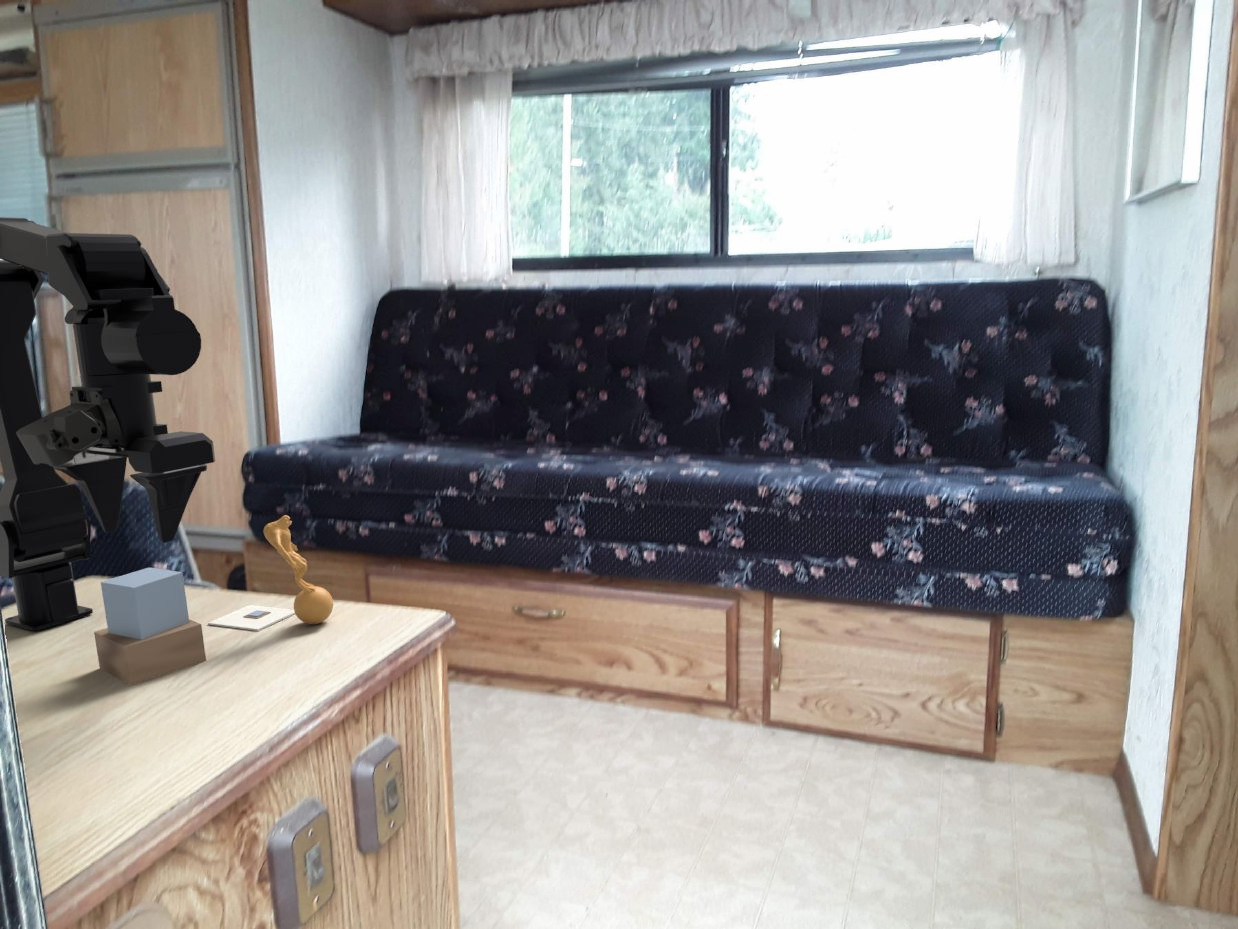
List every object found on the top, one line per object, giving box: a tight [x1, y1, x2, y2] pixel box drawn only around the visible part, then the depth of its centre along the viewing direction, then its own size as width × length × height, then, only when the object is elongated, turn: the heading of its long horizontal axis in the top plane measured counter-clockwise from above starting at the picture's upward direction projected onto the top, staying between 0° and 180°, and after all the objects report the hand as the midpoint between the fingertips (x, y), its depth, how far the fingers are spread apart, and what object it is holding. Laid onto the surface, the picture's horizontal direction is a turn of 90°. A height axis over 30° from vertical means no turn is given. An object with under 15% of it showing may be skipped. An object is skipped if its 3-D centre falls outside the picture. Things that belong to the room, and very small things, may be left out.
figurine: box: [263, 514, 334, 625], centre depth 98 cm, size 8×6×12 cm
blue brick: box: [100, 567, 190, 640], centre depth 89 cm, size 5×5×5 cm
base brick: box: [93, 618, 207, 686], centre depth 90 cm, size 7×7×4 cm
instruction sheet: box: [207, 604, 296, 632], centre depth 102 cm, size 7×6×1 cm
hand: (138, 536), depth 90 cm, fingers open, 9 cm apart
